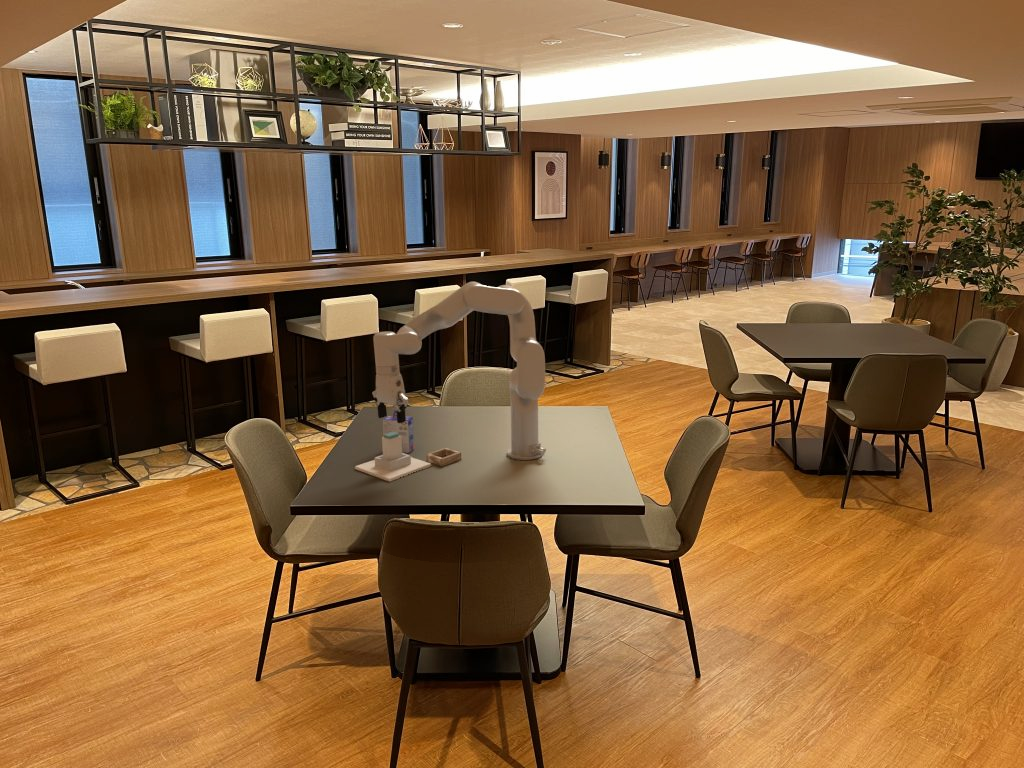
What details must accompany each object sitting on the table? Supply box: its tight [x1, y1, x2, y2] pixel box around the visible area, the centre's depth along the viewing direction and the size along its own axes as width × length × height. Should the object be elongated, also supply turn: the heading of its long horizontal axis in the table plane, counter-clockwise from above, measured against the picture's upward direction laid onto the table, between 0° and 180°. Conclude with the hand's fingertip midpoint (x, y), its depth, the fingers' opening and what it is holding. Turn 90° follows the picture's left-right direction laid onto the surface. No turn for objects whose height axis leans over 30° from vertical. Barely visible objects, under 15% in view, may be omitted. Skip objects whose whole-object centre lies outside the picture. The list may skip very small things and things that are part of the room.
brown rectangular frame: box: [425, 447, 462, 467], centre depth 267 cm, size 8×9×2 cm
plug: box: [381, 432, 402, 461], centre depth 260 cm, size 4×5×11 cm
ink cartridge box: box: [382, 409, 415, 454], centre depth 277 cm, size 10×6×14 cm, turn 78°
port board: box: [354, 453, 432, 482], centre depth 261 cm, size 18×18×4 cm
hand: (392, 419), depth 257 cm, fingers open, 9 cm apart
